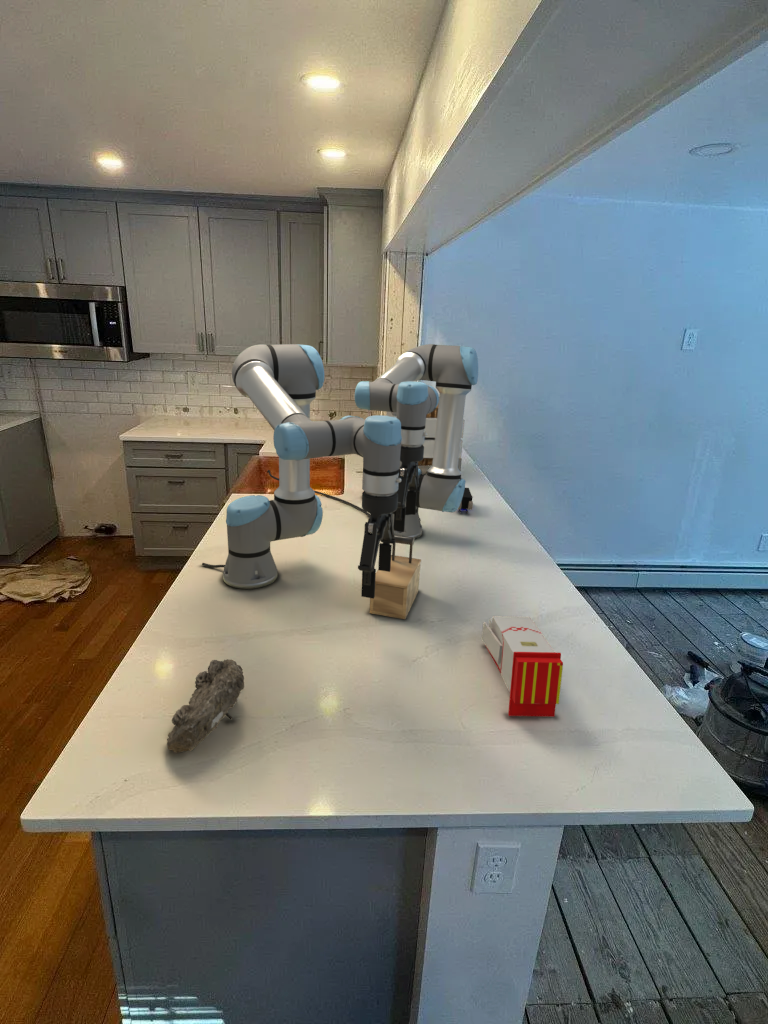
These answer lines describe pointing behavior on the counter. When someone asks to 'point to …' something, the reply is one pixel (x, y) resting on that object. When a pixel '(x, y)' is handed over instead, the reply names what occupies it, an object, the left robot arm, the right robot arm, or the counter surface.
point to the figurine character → (466, 501)
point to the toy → (525, 665)
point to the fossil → (206, 705)
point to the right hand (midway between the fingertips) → (404, 522)
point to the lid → (399, 566)
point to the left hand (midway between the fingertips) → (376, 583)
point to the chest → (395, 598)
